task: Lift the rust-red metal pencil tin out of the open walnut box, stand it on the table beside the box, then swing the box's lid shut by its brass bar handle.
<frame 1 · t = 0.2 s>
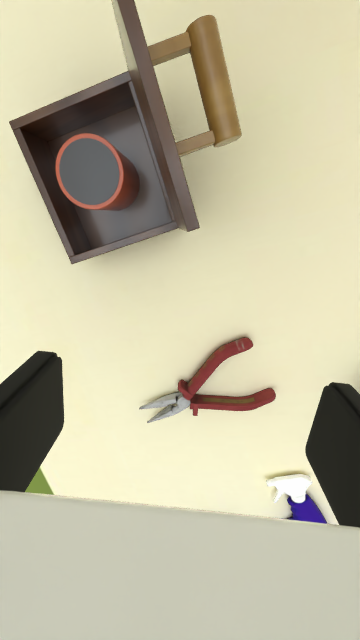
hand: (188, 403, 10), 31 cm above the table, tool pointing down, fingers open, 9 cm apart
box: (114, 183, 37), on the table
pliers: (204, 377, 46), on the table
lid: (183, 122, 22), point 14 cm above the table, hinge at 95.0°
pencil tin: (113, 182, 36), point 1 cm above the table, touching box
spray bottle: (296, 519, 55), on the table
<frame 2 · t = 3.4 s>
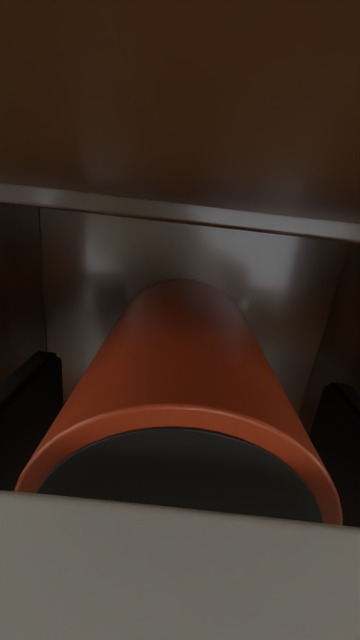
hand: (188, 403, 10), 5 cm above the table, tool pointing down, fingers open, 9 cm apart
box: (182, 338, 15), on the table
pencil tin: (181, 344, 14), point 1 cm above the table, touching box
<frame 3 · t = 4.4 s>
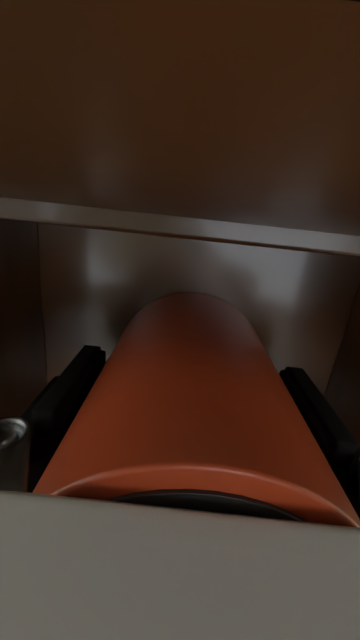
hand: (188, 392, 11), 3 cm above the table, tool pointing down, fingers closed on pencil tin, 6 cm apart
box: (188, 353, 14), on the table
pencil tin: (189, 360, 13), point 1 cm above the table, touching box, gripper
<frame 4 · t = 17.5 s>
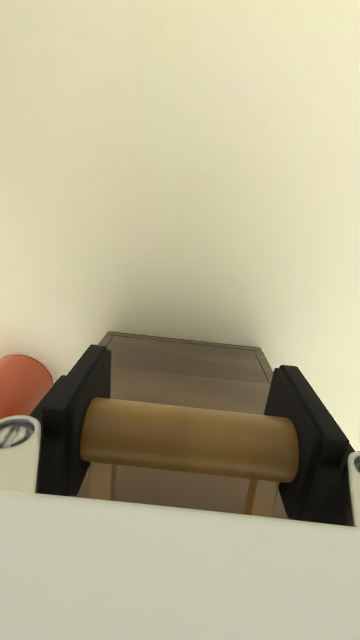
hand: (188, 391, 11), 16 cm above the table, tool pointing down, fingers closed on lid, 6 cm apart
box: (177, 397, 30), on the table
lid: (184, 403, 14), point 14 cm above the table, hinge at 95.0°, touching gripper
pencil tin: (22, 382, 30), on the table
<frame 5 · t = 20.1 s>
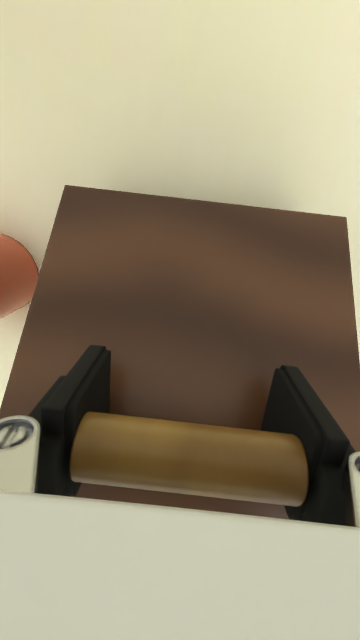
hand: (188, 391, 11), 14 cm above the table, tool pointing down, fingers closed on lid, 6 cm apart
lid: (197, 316, 11), point 13 cm above the table, hinge at 38.1°, touching gripper
pencil tin: (0, 272, 25), on the table
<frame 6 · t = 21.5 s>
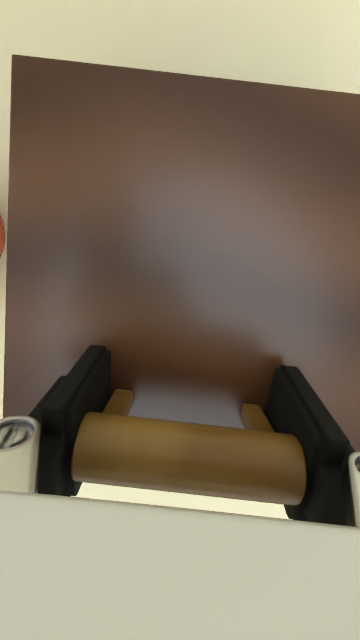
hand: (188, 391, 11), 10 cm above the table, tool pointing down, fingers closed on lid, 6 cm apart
lid: (204, 285, 9), point 11 cm above the table, hinge at 11.1°, touching gripper
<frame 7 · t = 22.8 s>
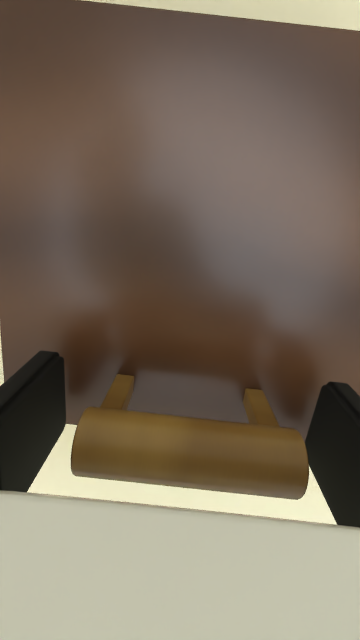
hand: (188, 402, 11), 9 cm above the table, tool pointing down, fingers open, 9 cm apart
lid: (207, 273, 8), point 10 cm above the table, hinge at 3.2°
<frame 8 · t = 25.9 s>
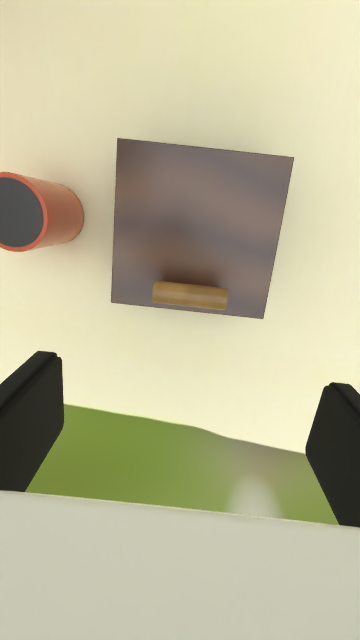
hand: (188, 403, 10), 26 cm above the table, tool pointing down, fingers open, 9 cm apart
lid: (196, 235, 24), point 10 cm above the table, hinge at 3.2°
pencil tin: (56, 214, 34), on the table
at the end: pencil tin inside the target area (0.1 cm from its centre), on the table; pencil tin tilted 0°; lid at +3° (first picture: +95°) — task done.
